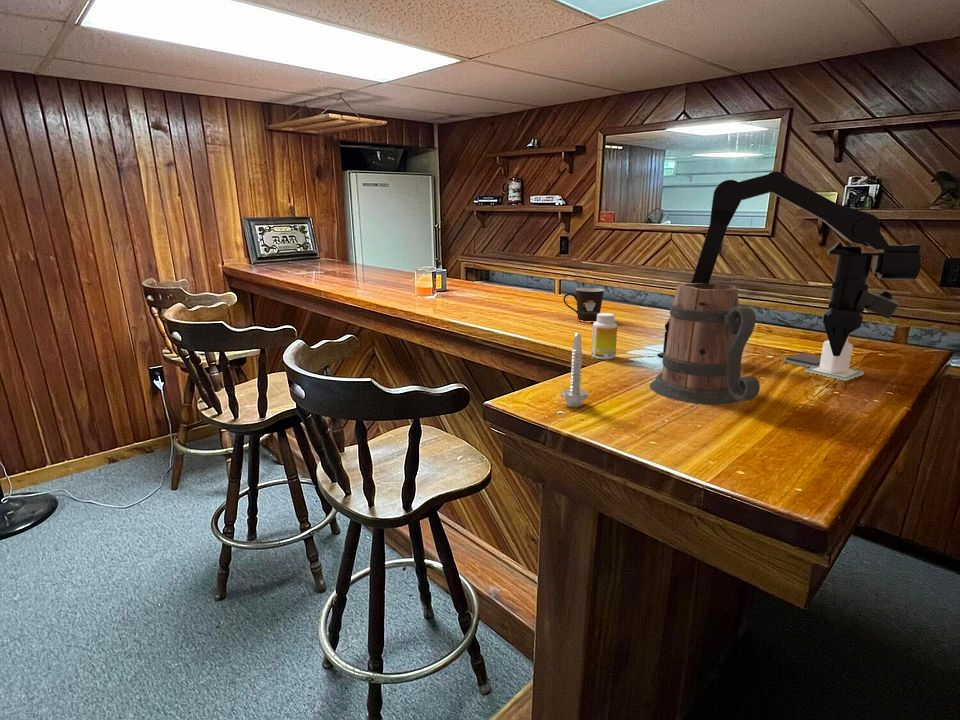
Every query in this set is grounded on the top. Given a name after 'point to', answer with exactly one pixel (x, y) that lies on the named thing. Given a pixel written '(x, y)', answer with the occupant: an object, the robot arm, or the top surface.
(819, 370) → the print card
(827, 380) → the top surface
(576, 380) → the screw
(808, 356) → the pad
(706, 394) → the tankard
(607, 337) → the supplement bottle
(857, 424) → the top surface
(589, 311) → the coffee mug
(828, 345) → the pepper shaker
